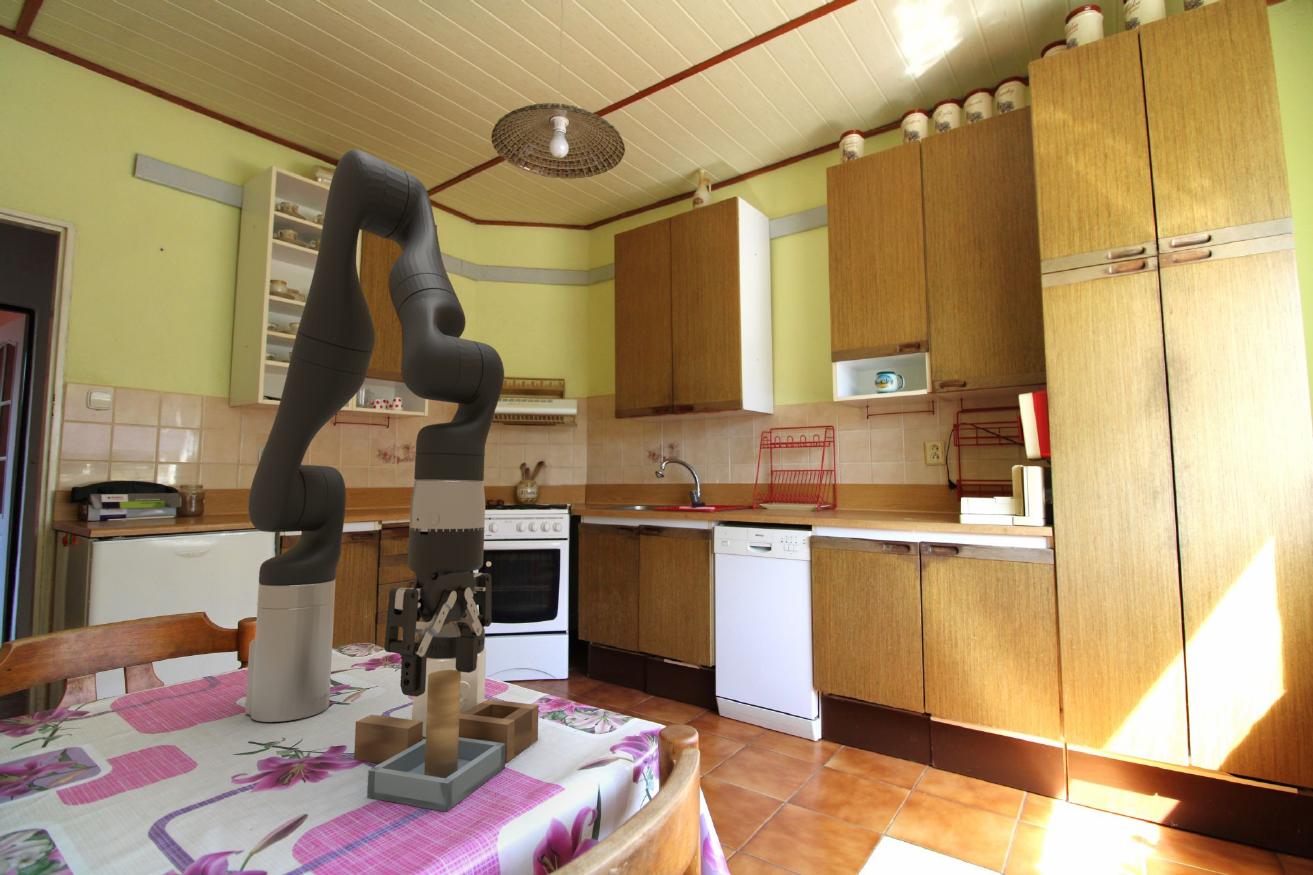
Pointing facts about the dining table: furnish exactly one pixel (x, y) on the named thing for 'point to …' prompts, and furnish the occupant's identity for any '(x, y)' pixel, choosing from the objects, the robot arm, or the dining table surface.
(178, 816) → the dining table surface
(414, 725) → the block
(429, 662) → the jar
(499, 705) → the socket block
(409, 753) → the tray
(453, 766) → the dowel
